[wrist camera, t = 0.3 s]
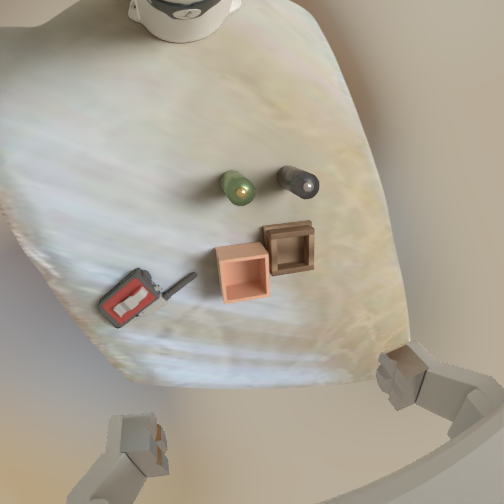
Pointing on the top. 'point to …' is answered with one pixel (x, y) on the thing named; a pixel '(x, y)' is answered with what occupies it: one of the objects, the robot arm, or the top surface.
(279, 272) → the cell holder
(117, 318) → the walkie-talkie
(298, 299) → the top surface
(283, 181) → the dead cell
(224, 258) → the cup
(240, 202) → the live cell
